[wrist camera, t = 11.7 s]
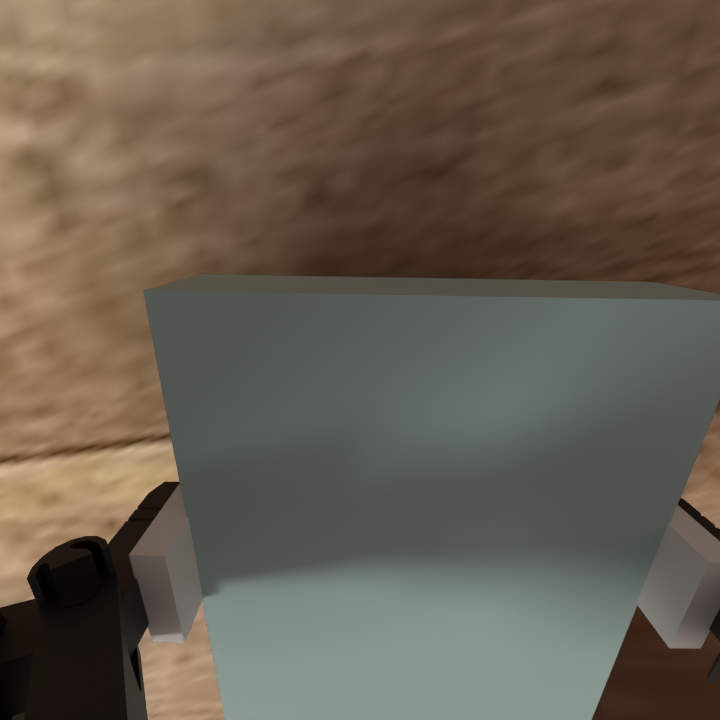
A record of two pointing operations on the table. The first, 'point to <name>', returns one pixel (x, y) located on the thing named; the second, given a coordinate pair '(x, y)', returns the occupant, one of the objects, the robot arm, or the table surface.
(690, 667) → the box
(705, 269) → the table surface
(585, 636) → the lid
